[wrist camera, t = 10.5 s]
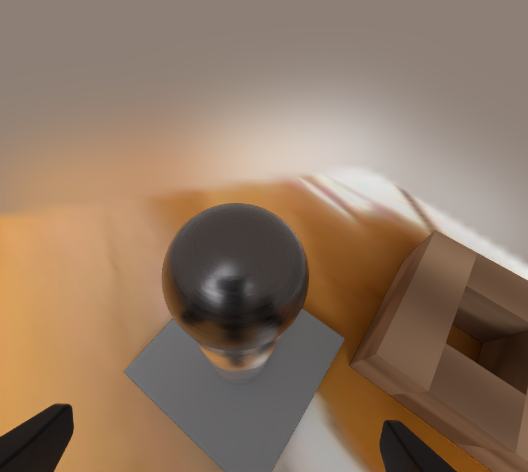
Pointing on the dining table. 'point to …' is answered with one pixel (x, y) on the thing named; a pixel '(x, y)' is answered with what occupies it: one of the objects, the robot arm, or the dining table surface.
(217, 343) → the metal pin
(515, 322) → the block
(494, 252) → the dining table surface
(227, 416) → the slate pad
